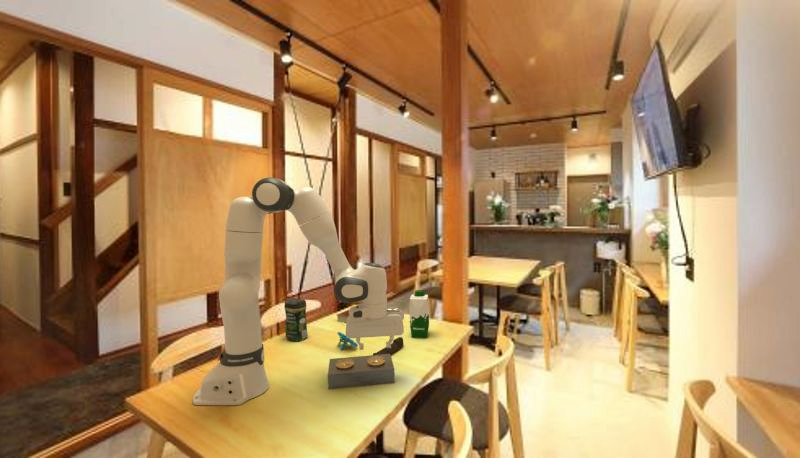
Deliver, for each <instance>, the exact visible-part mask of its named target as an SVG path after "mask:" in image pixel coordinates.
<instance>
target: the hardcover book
mask: <svg viewBox="0 0 800 458" xmlns="http://www.w3.org/2000/svg"><path fill="white" fill-rule="evenodd" d="M336 316H337V322H340V323H347V318H348V316H349V309H347V310H345V311H342V312H340V313H337V314H336Z"/></svg>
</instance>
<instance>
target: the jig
mask: <svg viewBox="0 0 800 458" xmlns="http://www.w3.org/2000/svg"><path fill="white" fill-rule="evenodd" d="M373 356H381V357H384V358H385V364H383V365H381V366H370V365H368V364H367V359H368V358H370V357H373ZM392 359H393V358H392V354H381V355H373V354H372V355H359V356H358V355H357V356H350V357H349V356H348V357H339V358H337V357H336V358H335V357H334V358H329V363H328V371H327V382H328V383H327V385H328V388H327V389H328V390H334V389H335V390H336V389H346V388H356V387H357V388H358V387H367V386H376V385H385V384H387V385H389V384H394V383H396V381H395V380H396V379H395V366H394V363H393V360H392Z"/></svg>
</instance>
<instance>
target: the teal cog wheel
mask: <svg viewBox="0 0 800 458" xmlns="http://www.w3.org/2000/svg"><path fill="white" fill-rule="evenodd" d="M337 335H338V338H339V342H338V343H337V345H336V347H339V346H340V344H341V343H342V345H341V346H340V348H339V350H341V351H342V350H343V349H344V348H345V346H346V345H347V344H348V343H349V344H350V345H352V346H354V347H355V348H356V347H359V344H358V343H357V342H355V341H354V340H353V338H347V337H346V334H344V333H342V332H340V331H338V332H337Z"/></svg>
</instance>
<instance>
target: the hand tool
mask: <svg viewBox="0 0 800 458" xmlns="http://www.w3.org/2000/svg"><path fill="white" fill-rule="evenodd" d="M403 347H404V338H403V337H402V336H399V337H397V338H394V339H393V341H392V343H391V348H386V346H385V347H384V348H381V350H378V351H377V352H374V353H373V354H372V355H381V354H390V355H392V354H393V353H395V352H399V351H401V350H402V348H403Z"/></svg>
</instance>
